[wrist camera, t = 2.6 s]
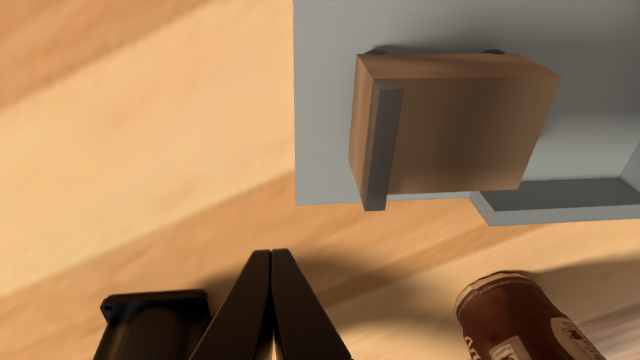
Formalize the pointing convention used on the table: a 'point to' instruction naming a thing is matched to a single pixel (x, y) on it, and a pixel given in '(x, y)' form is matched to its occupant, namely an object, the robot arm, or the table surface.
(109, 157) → the table surface
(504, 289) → the coffee cup
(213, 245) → the table surface
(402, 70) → the block
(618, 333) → the table surface
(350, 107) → the dock
